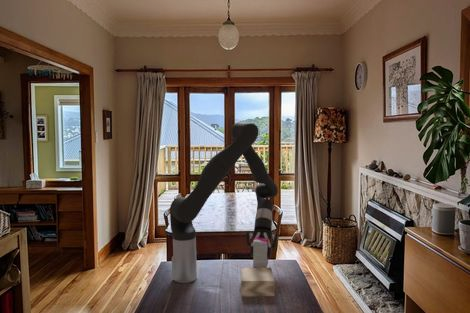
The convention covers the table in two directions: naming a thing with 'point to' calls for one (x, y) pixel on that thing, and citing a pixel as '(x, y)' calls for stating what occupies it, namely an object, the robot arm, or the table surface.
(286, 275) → the table surface
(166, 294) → the table surface
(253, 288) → the birch block
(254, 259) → the supplement box
